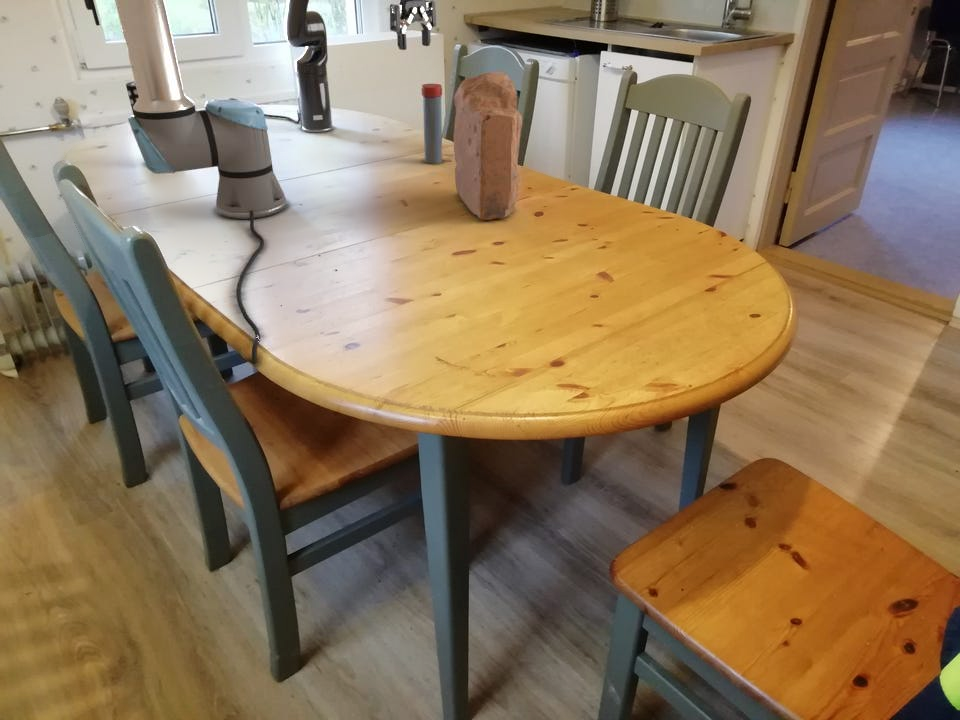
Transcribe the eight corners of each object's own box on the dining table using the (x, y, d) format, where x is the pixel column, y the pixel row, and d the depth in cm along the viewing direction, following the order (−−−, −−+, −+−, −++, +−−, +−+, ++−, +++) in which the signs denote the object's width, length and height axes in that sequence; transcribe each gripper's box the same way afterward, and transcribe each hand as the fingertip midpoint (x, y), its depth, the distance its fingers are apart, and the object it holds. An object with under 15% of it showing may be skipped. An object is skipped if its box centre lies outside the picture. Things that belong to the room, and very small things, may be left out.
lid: (446, 95, 181) (446, 85, 180) (433, 98, 177) (432, 88, 176) (430, 92, 184) (430, 82, 182) (417, 95, 180) (417, 85, 179)
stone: (529, 217, 153) (533, 83, 139) (481, 223, 150) (480, 86, 136) (496, 190, 171) (497, 69, 157) (453, 195, 168) (450, 71, 154)
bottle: (445, 161, 190) (444, 87, 180) (434, 165, 187) (432, 90, 177) (432, 157, 193) (430, 84, 182) (421, 161, 189) (418, 87, 179)
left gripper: (159, -78, 167) (178, 19, 179) (42, -79, 157) (71, 24, 168) (163, -78, 162) (183, 22, 173) (42, -79, 151) (72, 27, 163)
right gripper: (421, -26, 177) (423, 43, 185) (380, -24, 167) (384, 49, 176) (442, -24, 172) (443, 46, 181) (401, -22, 163) (404, 52, 172)
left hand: (128, 23), depth 171 cm, fingers open, 13 cm apart
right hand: (414, 47), depth 179 cm, fingers open, 8 cm apart
